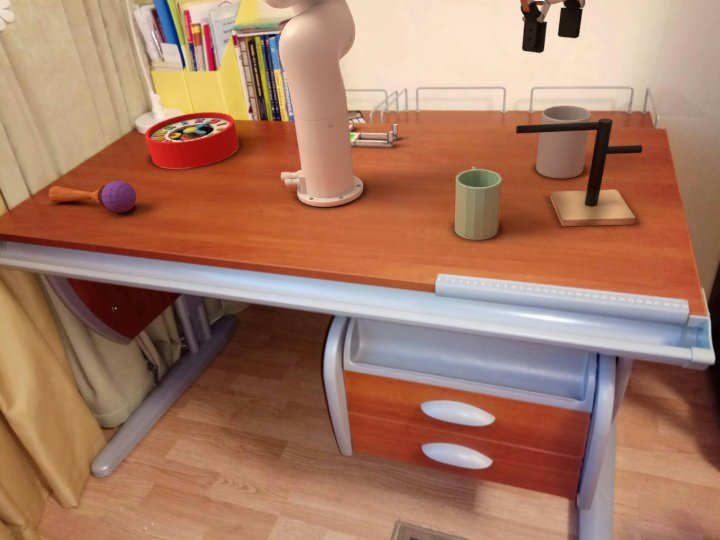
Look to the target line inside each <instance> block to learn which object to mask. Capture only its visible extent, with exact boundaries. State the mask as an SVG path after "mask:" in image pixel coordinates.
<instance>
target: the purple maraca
mask: <svg viewBox="0 0 720 540" xmlns="http://www.w3.org/2000/svg"><path fill="white" fill-rule="evenodd" d="M48 197H49V200H50V201H51V202H53V203H55V204H57V203H65V202H74V201H75V202H76V201H83V200H94V201H95V202H96V203H98V204H99V205H100V206H102V207H104V208H107V209H108V210H109V211H111V212H114V213H118V214H119V213H120V214H121V213H122V214H123V213H127V212H129V211H130V210H131V209H133V208H134V207H135V205H136V202H137V192H136V190H135V188H134V187H133V185H131V184H129V183H128V182H126V181H124V180H113V181H111V182H109V183H107V184H105V185H104V184H103V185H102V186H100V187H98V189H95V191H93V192H90V191H85V190H81V189H75V188H69V187H64V186H60V185H59V186H58V185H53V186H51V187H50V188H49V190H48Z"/></svg>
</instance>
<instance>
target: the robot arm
mask: <svg viewBox="0 0 720 540" xmlns="http://www.w3.org/2000/svg"><path fill="white" fill-rule="evenodd" d="M262 1H263V2H264V3H265V4H267V6H270V7H272V8H273V9H280V10H281V9H282V10H284V9H287V8H288V9H289V8H291V9H292V11H293V13H294V16H293V17H292V18H291V19H289V21H287V23H285V24H284V27H283V29H282V31H281V33H280V37H279V40H278V55H279V59H280V64H281V66H282V67H281V68H282V69H283V72H284V76H285V79H286V84H287V87H288V91H289V96H290V102H291V109H292V114H293V121H294V128H295V134H296V135H295V136H296V140H297V146H298V147H297V148H298V153H299V160H300V167H301V169H298V170H297V171H293V172H292V171H281V172H280V181H281V183H284V186H285V187H297V188H296V195H297V198H298V200H299V201H300V202H301V203H303V204H306V205H309V206H313V207H317V208H319V207H320V208H325V207H326V208H328V207H337V206H343V205H345V204H348V203H350V202H352V201H354V200H356V199H357V198H359V197H360V196H361V195H362V194H363V191H364V183H363V181H362V179H361V178H359V177H358V176H357V175H355V173H354V172H355V171H354V161H353V152H352V146H351V140H350V130H349V124H350V119H349V111H348V101H347V93H346V86H345V83H344V82H345V81H344V78H343V74H342V71H341V66H340V61H341V59H343V58H344V57H345V56H346V55H347V54H348V53H349V52H350V50H351V49H352V47H353V45H354V43H355V39H356V25H355V21H354V16H353V14H352V11H351V10H350V7H349V5H348V2H347V0H262ZM519 1H520V12H521V14H522V17H521V18H522V19H521V20H522V22H523V30H522V31H523V32H522V42H521V50H522V51H523V52H527V53H535V54H542V53H543V52H545V46H546V37H547V26H548V21H545V19H546V17H547V16H548V15H547V14H548V12H549V11H550V8H551V7H552V5H556V4H559V3H562V4H563V7H560V12H559V21H558V29H557V36H558V37H560V38H568V39H577V38H579V37H580V33H581V25H582V19H583V11H584V8H585V5H586V0H519ZM538 6H540V8H539V7H538Z"/></svg>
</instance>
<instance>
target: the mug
mask: <svg viewBox="0 0 720 540" xmlns="http://www.w3.org/2000/svg"><path fill="white" fill-rule="evenodd" d="M591 120H592V112H591V111H590V110H589V109H586V108H584V107H581V106H577V105H576V106H575V105H555V106H550V107H547V108H545V109H544V110H543V111H542V113H541V118H540V125H541V124H563V123H584V122H592V121H591ZM589 132H590V130H587V131H565V132H543V133H539V136H538V145H537V146H538V147H537V153H536V161H535V169H536V172H537V173H538V174H540V175H542V176H543V177H546V178H551V179H559V180H565V179H572V178H576V177H578V176H580V175H581V174H582V173H583V171H584V166H585V160H586V159H585V158H586V151H587V145H588V139H589Z"/></svg>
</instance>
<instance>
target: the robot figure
mask: <svg viewBox="0 0 720 540" xmlns="http://www.w3.org/2000/svg"><path fill="white" fill-rule="evenodd" d="M349 130H350V140H351V147H353V148H354V147H356V148H357V147H358V148H387V149H388V148H389V149H393V148H394V146H395V144H394V143H395V142H394V141H398V139H399V127H398V123H394V124H393V123H392V124H391V131H389V130H388V131H387V132H385V133H384V132H353V131H354V130H355V125H354V123H349Z"/></svg>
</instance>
